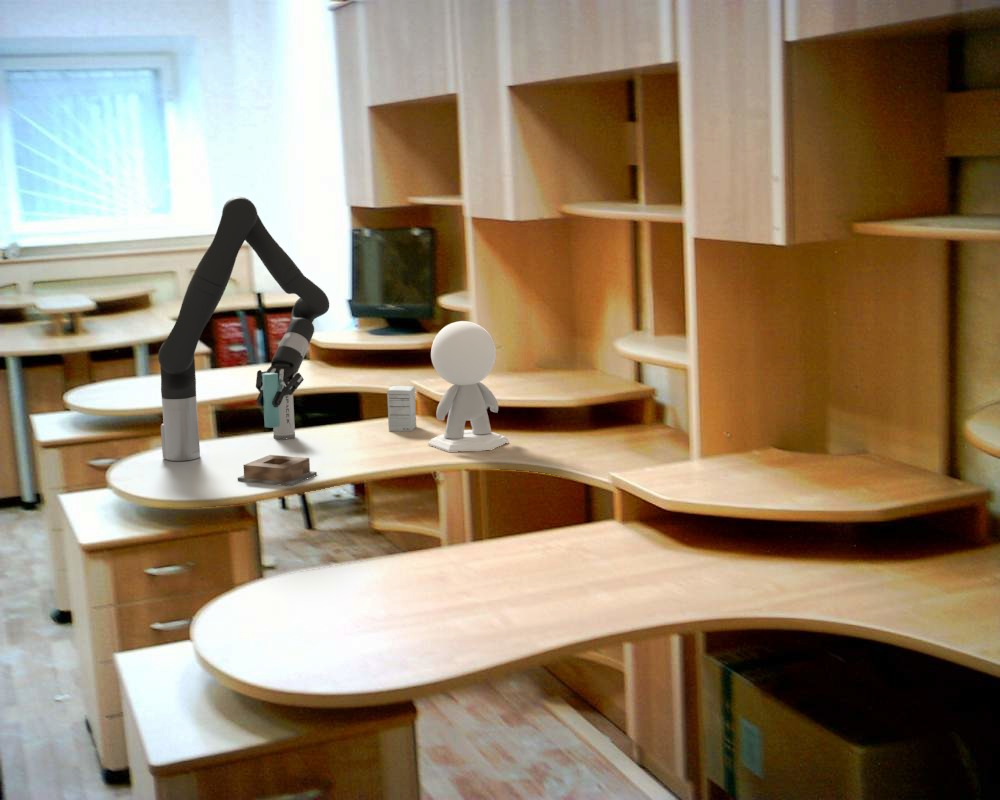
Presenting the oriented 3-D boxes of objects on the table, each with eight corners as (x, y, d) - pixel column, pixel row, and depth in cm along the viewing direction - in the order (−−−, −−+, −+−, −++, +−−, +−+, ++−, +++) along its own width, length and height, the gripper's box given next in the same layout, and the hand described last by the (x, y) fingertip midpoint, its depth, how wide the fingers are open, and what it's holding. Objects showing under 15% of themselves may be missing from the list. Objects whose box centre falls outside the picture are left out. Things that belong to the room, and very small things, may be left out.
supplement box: (393, 426, 384) (391, 385, 381) (417, 426, 383) (415, 385, 380) (387, 431, 376) (386, 389, 374) (412, 431, 375) (410, 390, 373)
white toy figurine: (476, 432, 372) (473, 315, 365) (520, 446, 353) (518, 322, 346) (418, 441, 361) (414, 321, 355) (459, 456, 342) (456, 328, 336)
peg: (261, 426, 332) (259, 374, 329) (270, 424, 335) (267, 372, 333) (274, 428, 330) (272, 375, 328) (282, 425, 334) (280, 373, 331)
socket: (237, 480, 319) (236, 464, 319) (264, 470, 330) (263, 454, 329) (291, 485, 313) (290, 469, 312) (316, 474, 324) (315, 458, 323)
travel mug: (274, 435, 374) (271, 369, 370) (296, 435, 374) (293, 368, 370) (270, 439, 368) (266, 372, 364) (292, 439, 367) (289, 372, 364)
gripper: (262, 343, 339) (238, 395, 330) (307, 346, 333) (284, 398, 324) (274, 360, 344) (250, 411, 336) (318, 362, 339) (296, 415, 330)
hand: (267, 404), depth 330 cm, fingers closed on peg, 4 cm apart
